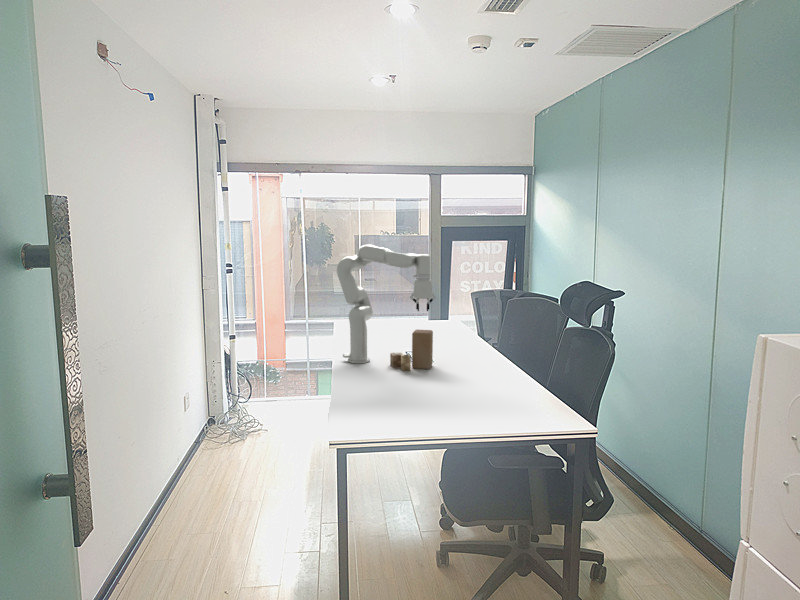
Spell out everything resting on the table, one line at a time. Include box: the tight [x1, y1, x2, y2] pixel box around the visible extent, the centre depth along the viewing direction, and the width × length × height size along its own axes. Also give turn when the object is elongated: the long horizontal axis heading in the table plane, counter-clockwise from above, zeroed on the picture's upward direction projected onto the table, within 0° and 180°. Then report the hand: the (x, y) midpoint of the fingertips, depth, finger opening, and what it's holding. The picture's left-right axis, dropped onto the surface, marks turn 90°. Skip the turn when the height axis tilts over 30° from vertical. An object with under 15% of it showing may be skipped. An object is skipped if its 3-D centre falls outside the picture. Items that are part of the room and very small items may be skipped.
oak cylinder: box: [400, 354, 412, 372], centre depth 301 cm, size 5×5×8 cm
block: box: [411, 329, 434, 370], centre depth 307 cm, size 10×10×20 cm
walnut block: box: [389, 352, 404, 369], centre depth 309 cm, size 6×6×7 cm
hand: (422, 310), depth 304 cm, fingers open, 4 cm apart
